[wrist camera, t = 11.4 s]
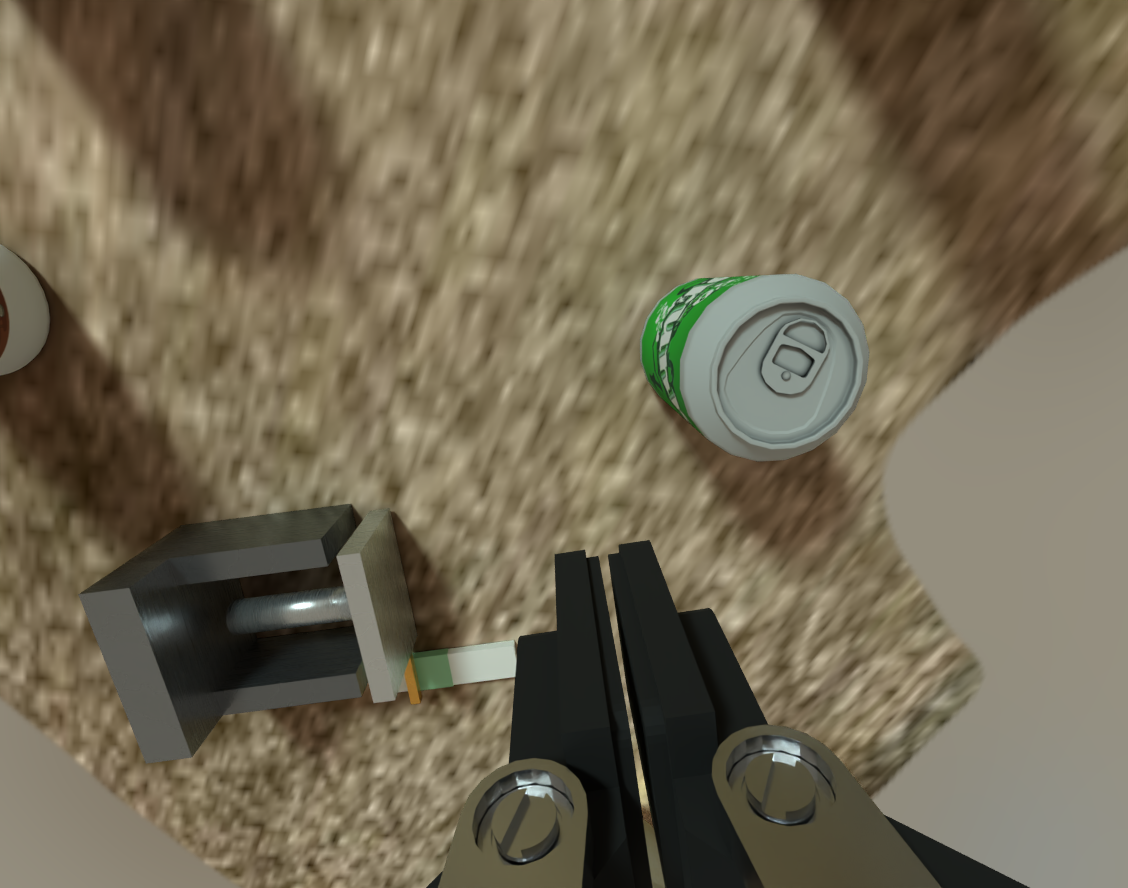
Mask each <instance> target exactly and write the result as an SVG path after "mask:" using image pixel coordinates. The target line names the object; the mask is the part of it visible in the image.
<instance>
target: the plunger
mask: <svg viewBox="0 0 1128 888" xmlns="http://www.w3.org/2000/svg"><path fill="white" fill-rule="evenodd" d="M336 557H337V561H338V565H339V569H340V573H341V576H342V580H343V584H344V586H337V587H329V588H322V589H314V590H306V591H299V592H291V593H283V594H275V595H268V596H260V597H252V598H245V599H237V600H234V601H233V602H232V603H231V604H230V605H229V608H228V611H227V617H226V621H227V626H228V629H229V631H230V632H231V633H232V634H233V635H240V634H248V633H255V632H263V631H271V630H278V629H286V628H294V627H301V626H309V625H317V624H324V623H332V622H340V621H347V620H353V624H354V628H355V632H356V636H357V640H358V644H359V648H360V651H361V655H362V659H363V663H364V667H365V671H366V675H367V679H368V683H369V687H370V691H371V695H372V699H373V703H378V702H386V701H393V700H396V697H397V694H398V691H399V688H400V685H401V682H402V679H403V676H405V680H406V684H407V689H408V693H409V697H410V702H411V704H419V703H421V699H422V694H421V689H420V685H419V680H418V676H417V672H416V667H415V663H414V658H413V654H412V650H413V647H414V644H415V641H416V638H417V631H416V627H415V622H414V618H413V613H412V608H411V604H410V599H409V595H408V590H407V586H406V581H405V576H404V572H403V567H402V563H401V558H400V554H399V549H398V545H397V540H396V535H395V531H394V526H393V522H392V517H391V513H390V508H388V509H380V510H373V511H369V513H368V514H367V516H366V517H365V518H364V520H363V521H362V522H361V524H360V525H359V526H358V528H357V529H356V530H355V532H354V533H353V534H352V536H351V537H350V538H349V540H348V541H347V542H346V544H345V545H344V546H343V548H342V549H341V551H340V552H339V553H338V555H337V556H336Z"/></svg>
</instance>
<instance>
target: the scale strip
mask: <svg viewBox="0 0 1128 888" xmlns="http://www.w3.org/2000/svg"><path fill="white" fill-rule="evenodd" d="M412 654H413V658H414V663H415V667H416V672H417V676H418V680H419V685H420V689H421V691H422V690H429V689H437V688H444V687H452V686H454V685H458V684H465V683H473V682H480V681H488V680H495V679H503V678H510V677H515V673H516V660H517V654H516V648H515V642H514V640H511V641H504V642H496V643H488V644H481V645H473V646H466V647H458V648H450V649H449V648H447V649H439V650H432V651H424V652H416V653H412ZM405 691H408V689H407V684H406V680H405V676H403V679H402V682H401V685H400V688H399V691H398V692H405Z"/></svg>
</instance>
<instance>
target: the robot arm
mask: <svg viewBox="0 0 1128 888" xmlns="http://www.w3.org/2000/svg"><path fill="white" fill-rule="evenodd" d="M608 559H609V566H610V573H611V580H612V587H613V594H614V601H615V609H616V616H617V623H618V630H619V637H620V644H621V651H622V658H623V665H624V672H625V679H626V685H627V691H628V697H629V703H630V708H631V713H632V718H633V724H634V729H635V734H636V739H637V744H638V749H639V755H640V760H641V765H642V770H643V775H644V781H645V786H646V791H647V796H648V801H649V806H650V812H651V817H652V822H653V827H654V832H655V838H656V843H657V848H658V853H659V858H660V863H661V869H662V874H663V879H664V884H665V888H1029V887H1027V886H1025V885H1023V884H1021V883H1019V882H1017V881H1015V880H1013V879H1011V878H1009V877H1007V876H1005V875H1003V874H1001V873H999V872H997V871H995V870H993V869H991V868H989V867H987V866H985V865H983V864H981V863H979V862H977V861H975V860H973V859H971V858H969V857H967V856H965V855H963V854H961V853H959V852H957V851H955V850H953V849H951V848H949V847H947V846H945V845H943V844H941V843H939V842H937V841H935V840H933V839H931V838H929V837H927V836H925V835H923V834H921V833H919V832H917V831H916V830H914V829H911V828H909V827H908V826H906V825H903V824H902V823H899V822H897V821H896V820H894V819H892V818H890V817H887V816H885V815H884V814H883V813H882V812H881V811H880V810H879V808H878V807H877V806H876V805H875V803H874V802H873V801H872V799H871V798H870V797H869V796H868V794H867V793H866V792H865V791H864V789H863V788H862V787H861V786H860V784H859V783H858V782H857V781H856V779H855V778H854V777H853V776H852V774H851V773H850V772H849V771H848V769H847V768H846V767H845V766H844V764H843V763H842V762H841V761H840V759H839V758H838V757H837V756H836V755H835V754H834V753H833V752H832V751H831V750H829V749H828V748H827V747H826V746H825V745H824V744H823V743H821V742H820V741H818V740H816V739H814V738H813V737H811V736H809V735H808V734H806V733H803V732H800V731H797V730H794V729H791V728H788V727H785V726H775V725H768V723H767V721H766V719H765V717H764V715H763V713H762V711H761V709H760V707H759V705H758V702H757V700H756V698H755V696H754V694H753V692H752V690H751V688H750V686H749V684H748V682H747V680H746V678H745V676H744V674H743V672H742V670H741V668H740V665H739V663H738V661H737V659H736V657H735V655H734V653H733V651H732V649H731V647H730V645H729V643H728V641H727V639H726V637H725V635H724V633H723V630H722V628H721V626H720V624H719V622H718V620H717V618H716V616H715V614H714V613H713V611H712V610H711V609H710V608H707V609H700V610H693V611H686V612H680V613H677V610H676V608H675V605H674V603H673V600H672V597H671V595H670V592H669V589H668V587H667V584H666V582H665V579H664V576H663V574H662V571H661V568H660V566H659V563H658V561H657V558H656V555H655V553H654V550H653V547H652V545H651V542H650V540H647V541H640V542H633V543H627V544H620V545H619V553H616V554H609V555H608ZM555 582H556V613H557V631H552V632H545V633H538V634H531V635H525V636H520V637H519V638H518V646H517V660H516V673H515V687H514V701H513V715H512V728H511V742H510V756H509V764H507V765H505V766H502V767H500V768H498V769H496V770H495V771H494V772H492V773H491V774H490V775H488V776H487V777H486V778H484V779H483V780H482V781H481V782H480V783H479V784H478V786H477V787H476V788H475V789H474V790H473V792H472V793H471V794H470V795H469V797H468V799H467V801H466V803H465V806H464V808H463V810H462V812H461V814H460V818H459V821H458V824H457V827H456V831H455V834H454V837H453V840H452V844H451V847H450V850H449V854H448V857H447V860H446V863H445V867H444V870H443V871H442V872H441V873H440V874H439V875H438V876H437V877H436V878H435V879H434V880H433V881H432V882H431V883H430V884H429V885H428V886H427V887H426V888H653V886H652V879H651V872H650V865H649V859H648V852H647V845H646V838H645V831H644V824H643V817H642V810H641V803H640V796H639V789H638V782H637V775H636V768H635V762H634V755H633V748H632V741H631V734H630V728H629V722H628V716H627V710H626V704H625V699H624V693H623V688H622V683H621V677H620V672H619V666H618V661H617V655H616V650H615V644H614V639H613V633H612V628H611V622H610V617H609V612H608V606H607V601H606V595H605V590H604V584H603V579H602V573H601V568H600V562H599V557H598V556H596V557H589V558H586V553H585V550H580V551H574V552H567V553H560V554H555Z"/></svg>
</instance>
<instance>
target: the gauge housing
mask: <svg viewBox="0 0 1128 888" xmlns="http://www.w3.org/2000/svg"><path fill="white" fill-rule="evenodd" d="M356 528H357V527H356V523H355V519H354V515H353V511H352V506H351V504H346V505H338V506H330V507H322V508H314V509H307V510H299V511H291V512H283V513H275V514H267V515H260V516H252V517H244V518H236V519H228V520H221V521H213V522H205V523H197V524H189V525H181V526H180V527H178V528H177V529H175V530H174V531H172V532H171V533H169V534H168V535H166V536H165V537H163V538H162V539H160V540H159V541H157V542H156V543H154V544H153V545H151V546H150V547H148V548H147V549H145V550H144V551H142V552H141V553H139V554H138V555H136V556H135V557H134V558H132V559H131V560H129V561H128V562H126V563H125V564H123V565H122V566H120V567H119V568H117V569H116V570H114V571H113V572H111V573H110V574H108V575H107V576H105V577H104V578H102V579H101V580H99V581H98V582H96V583H95V584H93V585H92V586H90V587H89V588H87V589H86V590H84V591H83V592H81V593H80V594H79V597H80V600H81V602H82V605H83V607H84V610H85V612H86V615H87V617H88V620H89V622H90V625H91V627H92V630H93V632H94V635H95V637H96V640H97V642H98V645H99V647H100V650H101V652H102V655H103V657H104V660H105V662H106V665H107V667H108V670H109V672H110V675H111V677H112V680H113V682H114V685H115V687H116V690H117V692H118V695H119V697H120V700H121V702H122V705H123V707H124V710H125V712H126V715H127V717H128V720H129V722H130V725H131V727H132V730H133V732H134V734H135V737H136V739H137V742H138V744H139V747H140V749H141V752H142V754H143V757H144V759H145V762H146V763H153V762H161V761H168V760H176V759H183V758H191V757H193V755H194V754H195V753H196V751H197V750H198V749H199V747H200V746H201V744H202V743H203V742H204V740H205V739H206V738H207V736H208V735H209V733H210V732H211V731H212V729H213V728H214V727H215V725H216V724H217V723H218V721H219V720H220V718H221V717H222V716H223V715H229V714H236V713H244V712H251V711H259V710H267V709H274V708H282V707H289V706H297V705H304V704H312V703H319V702H327V701H335V700H342V699H350V698H357V697H362V695H363V693H364V690H365V688H366V686H367V683H368V679H367V675H366V671H365V667H364V663H363V659H362V655H361V651H360V648H359V644H358V640H357V636H356V632H355V628H354V626H352V627H344V628H336V629H329V630H321V631H313V632H306V633H298V634H290V635H283V636H275V637H267V638H260V639H257V637H256V634H255V633H248V634H240V635H233V634H232V633H231V632H230V631H229V629H228V626H227V621H226V617H227V611H228V608H229V605H230V604H231V603H232V602H233V601H234V600H237V599H244V595H243V592H242V589H241V586H240V582H239V579H238V578H241V577H248V576H256V575H264V574H272V573H279V572H287V571H295V570H302V569H310V568H318V567H326V566H328V565H329V564H330V563H331V561H332V560H333V559H334V557H335V556H336V555H337V553H338V552H339V551H340V549H341V548H342V547H343V545H344V544H345V543H346V541H347V540H348V539H349V537H350V536H351V535H352V533H353V532H354V530H355V529H356Z"/></svg>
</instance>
